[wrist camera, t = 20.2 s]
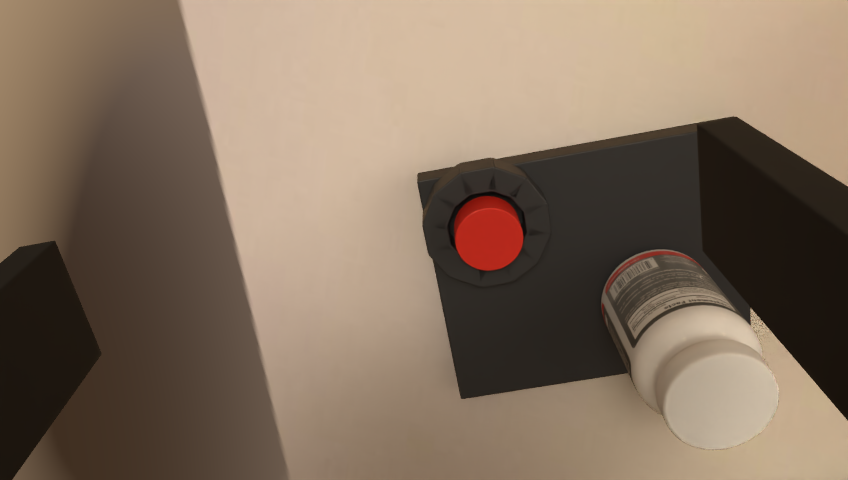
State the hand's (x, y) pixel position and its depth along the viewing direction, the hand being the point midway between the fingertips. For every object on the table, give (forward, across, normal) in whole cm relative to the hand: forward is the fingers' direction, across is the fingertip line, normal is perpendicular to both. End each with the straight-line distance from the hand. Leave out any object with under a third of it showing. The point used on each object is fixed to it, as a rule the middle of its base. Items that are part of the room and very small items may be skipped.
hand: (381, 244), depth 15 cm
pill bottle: (+21, +11, -14) cm, 28 cm away
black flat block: (+23, +8, -12) cm, 27 cm away
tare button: (+20, +3, -8) cm, 22 cm away
